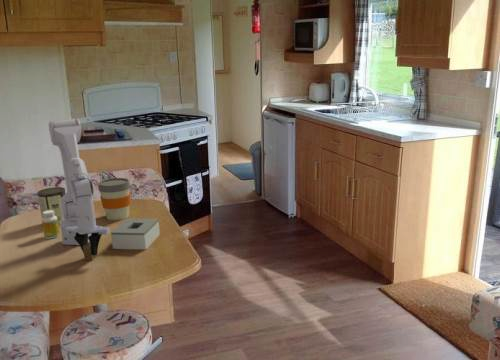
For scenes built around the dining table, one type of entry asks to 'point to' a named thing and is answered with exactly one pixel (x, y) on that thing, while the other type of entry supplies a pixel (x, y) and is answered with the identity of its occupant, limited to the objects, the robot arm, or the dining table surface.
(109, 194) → the reusable coffee cup
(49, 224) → the supplement bottle
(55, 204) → the coffee can
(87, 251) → the tan rectangular block
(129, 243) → the box
